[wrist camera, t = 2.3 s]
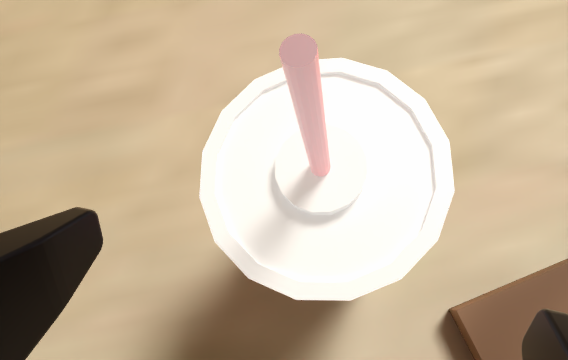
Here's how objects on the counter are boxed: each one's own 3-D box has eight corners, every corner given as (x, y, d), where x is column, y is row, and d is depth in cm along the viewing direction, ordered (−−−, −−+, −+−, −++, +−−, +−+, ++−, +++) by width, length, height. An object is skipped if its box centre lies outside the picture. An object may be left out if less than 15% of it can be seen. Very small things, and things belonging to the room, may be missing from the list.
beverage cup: (252, 281, 18) (-6, 251, 5) (280, 153, 20) (142, -144, 6) (391, 311, 17) (566, 383, 4) (410, 173, 18) (584, -141, 5)
